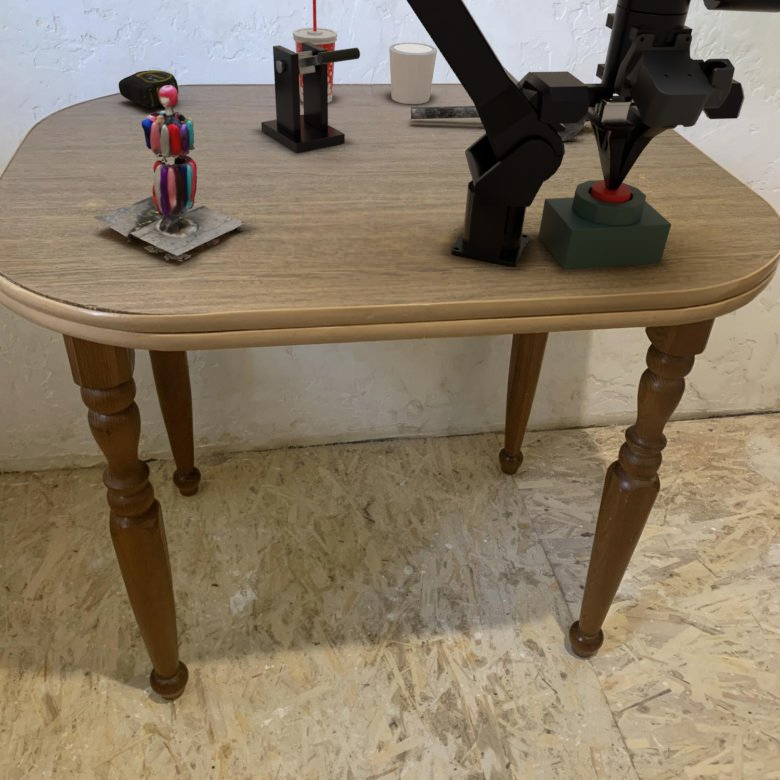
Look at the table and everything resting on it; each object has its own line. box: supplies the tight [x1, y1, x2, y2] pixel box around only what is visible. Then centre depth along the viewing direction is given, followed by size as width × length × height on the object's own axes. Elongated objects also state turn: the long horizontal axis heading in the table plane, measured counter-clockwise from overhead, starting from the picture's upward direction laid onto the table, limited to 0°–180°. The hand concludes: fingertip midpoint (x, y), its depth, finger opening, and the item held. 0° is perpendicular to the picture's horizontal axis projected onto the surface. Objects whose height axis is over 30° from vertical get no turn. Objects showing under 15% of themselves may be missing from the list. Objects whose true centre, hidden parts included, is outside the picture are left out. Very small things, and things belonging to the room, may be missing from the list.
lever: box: [298, 47, 361, 75], centre depth 90 cm, size 11×5×2 cm, turn 36°
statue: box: [93, 85, 246, 262], centre depth 72 cm, size 11×9×15 cm
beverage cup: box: [292, 0, 338, 104], centre depth 107 cm, size 6×6×14 cm
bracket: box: [260, 42, 346, 154], centre depth 96 cm, size 9×7×11 cm
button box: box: [538, 179, 672, 271], centre depth 75 cm, size 10×7×6 cm
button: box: [591, 181, 631, 203], centre depth 73 cm, size 4×4×2 cm
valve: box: [410, 105, 590, 142], centre depth 106 cm, size 6×26×15 cm
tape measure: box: [118, 69, 179, 109], centre depth 106 cm, size 7×7×4 cm
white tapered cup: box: [388, 42, 438, 105], centre depth 112 cm, size 7×7×7 cm
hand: (611, 188), depth 73 cm, fingers closed, pressing on button
